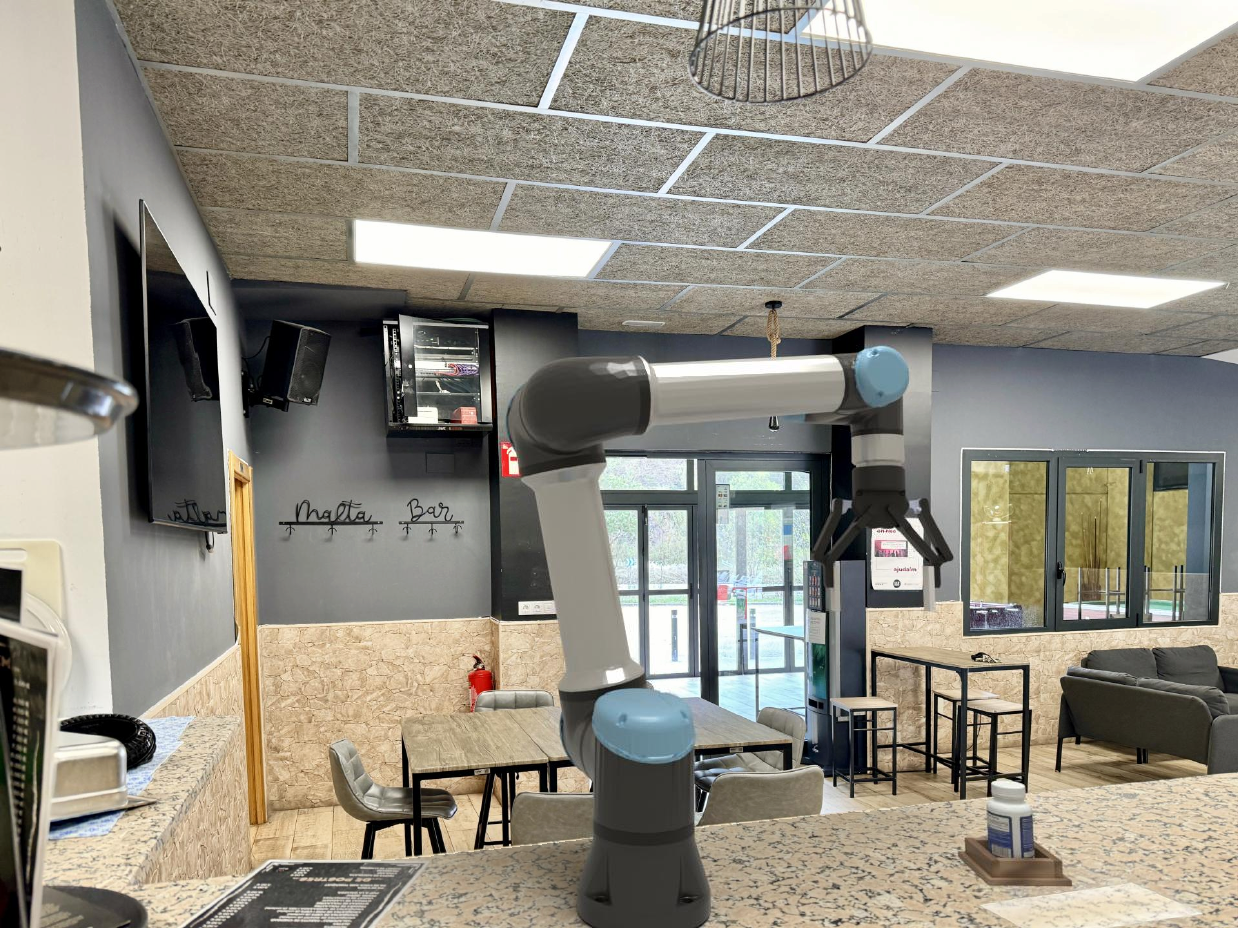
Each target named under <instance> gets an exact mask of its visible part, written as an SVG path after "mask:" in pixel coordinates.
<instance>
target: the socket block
mask: <svg viewBox="0 0 1238 928" xmlns="http://www.w3.org/2000/svg"><path fill="white" fill-rule="evenodd" d="M1034 855H1035V858H996V857H995V856H993V855H992V854H991V853H990V852H989V851H988V837H973V836H972V837H970V836H969V837H968V836H967V837H964V851H963V850H960V851H959V850H958V851H957V856H958V857H959V858H960V859H961V860H962V861H963V862H964V864H966V865H967V866H968V867H969V868H970V869H971V870H972V871H974V873H976V874H977V876H978V877H980V879H982V880H983V881H984V882H985V883H986V884H987V885H988V886H1047V887H1048V886H1049V887H1050V886H1052V887H1053V886H1055V887H1056V886H1057V887H1058V886H1059V887H1065V886H1067V887H1068V886H1069V887H1071V886H1073V881H1072V879H1071V878H1069V877H1068V876H1066V875H1065V874H1064V870H1063V869H1064V868H1063V861H1062V859H1060V858H1058V857H1057V856H1056V855H1054V854H1053V853H1051V852H1050V851H1049V850H1047V849H1046V848H1045V847H1043V846H1042V845H1040V844H1039V843H1038V842H1036V841H1035V840H1034Z"/></svg>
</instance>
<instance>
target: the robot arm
mask: <svg viewBox="0 0 1238 928" xmlns="http://www.w3.org/2000/svg"><path fill="white" fill-rule="evenodd" d="M909 383H910V371H909V367H908V364H907V361H906V359H905V358H904V357H903V355H902V354H901V353H900V352H898V350H896V349H894V348H892V347H889V346H886V345H878V346H874V347H867V348H864V349H863V350H861V351H858V352H852V353H851V352H850V353H835V354H819V355H814V354H813V355H797V356H794V355H793V356H778V357H777V356H776V357H775V356H774V357H757V358H755V357H754V358H740V359H739V358H738V359H737V358H736V359H734V358H733V359H719V360H718V359H717V360H716V359H715V360H698V361H697V360H696V361H695V360H693V361H678V362H677V361H676V362H675V361H673V362H658V363H657V362H655V363H649V362H648V361H647V360H646V359H645V358H643V357H642V356H641V355H627V356H625V355H623V356H580V357H579V356H578V357H577V356H576V357H566V358H560V359H556V360H555V359H554V360H553V361H550V362H547V363H545V364H544V365H542V366H541V367H539V368H538V369H537V370H535V371H534V372H533V373H532V374H531V375H530V377H529V378H528V380H526V381H525V382H524V383H523V384H522V385H521V386H519V387H518V388H517V390H516V391H515V392H514V394H513V395H512V397H511V398H510V400H509V402H508V405H507V410H506V413H505V419H504V420H505V421H504V424H505V433H506V436H507V438H508V442H509V444H510V446H511V448H512V449H513V451H514V452H515V454H516V455H515V456H516V459H517V464H518V465H517V466H518V470H519V471H518V472H519V476H520V481H521V482H522V483H524V485H526V486H527V487H529V488H531V490H533V492H534V495H535V500H536V505H537V507H536V508H537V512H538V517H539V523H540V529H541V534H542V540H543V545H544V552H545V556H546V557H545V558H546V562H547V563H546V564H547V569H548V575H549V580H550V585H551V591H552V596H553V603H554V607H555V612H556V613H555V614H556V618H557V620H556V621H557V625H558V630H559V636H560V641H561V647H562V648H561V649H562V653H563V659H564V664H565V672H564V674H563V676H562V677H561V679H560V680H559V681H558V683H557V690H558V696H559V701H560V703H559V704H560V709H561V713H560V716H559V723H558V728H559V737H560V739H559V740H560V742H561V745H562V747H563V751H564V752H565V755H566V756H567V758H568V759H569V760H570V761H569V762H571V763H572V764H573V766H575V767H576V768H577V770H579V771H580V772H582V773H583V774H584V775H585V776H586V777H587V778H588V779H589V780H590V781H591V782H592V784H593V785H592V790H593V791H592V793H593V794H592V796H593V797H592V798H593V799H592V801H593V802H592V805H593V806H592V808H593V809H592V829H593V831H592V838H591V839H592V840H591V843H590V846H589V848H588V852H587V856H586V860H585V862H584V865H583V868H582V871H581V872H582V873H581V875H580V878H579V882H578V885H577V894H576V895H577V896H576V897H577V898H576V902H577V903H576V904H577V905H576V909H577V914H578V916H579V917H580V918H581V919H582V920H583V921H584V922H585V923H587V924H589V925H591V927H594V928H697V927H699V926H700V925H702V924H704V923H705V922H706V921H707V920H708V919H709V917H710V915H711V912H712V905H711V904H712V902H711V901H712V900H711V899H712V898H711V897H712V896H711V895H712V894H711V893H712V892H711V887H710V883H709V880H708V877H707V874H706V871H705V870H706V869H705V867H704V865H703V861H702V857H701V855H700V851H699V848H698V845H697V841H696V835H695V834H696V833H695V832H696V831H695V827H696V826H695V819H696V818H695V815H696V814H695V803H696V799H695V796H696V795H695V794H696V793H695V790H696V787H695V775H696V774H695V766H696V765H695V761H696V760H695V742H696V738H697V736H696V735H697V734H696V730H695V726H694V725H695V724H694V713H693V710H692V708H691V706H690V705H689V703H688V702H686V700H685V699H684V698H682V697H680V696H678V695H676V694H673V693H671V692H661V690H657V689H653V688H652V689H650V688H649V687H648V683H647V682H648V681H647V678H646V677H647V676H646V672H645V667H644V666H641V664H640V663H638V662H636V660H633V658H632V657H631V654H630V647H629V643H628V642H629V641H628V637H627V632H626V626H625V625H626V624H625V620H624V614H623V609H622V603H621V598H620V593H619V587H618V582H617V575H616V571H615V565H614V560H613V559H614V558H613V554H612V548H611V544H610V537H609V533H608V526H607V521H606V516H605V510H604V505H603V500H602V494H601V488H600V483H599V480H600V477H601V475H602V474H603V472H604V471H605V469H606V468H607V466H608V465H607V464H608V463H607V458H606V452H605V448H604V443H605V442H608V441H611V440H615V439H620V438H623V437H624V438H625V437H631V436H643V435H646V434H647V433H648V432H649V431H650V430H651V428H652V427H654V426H655V427H656V426H666V425H678V424H679V425H680V424H681V425H682V424H692V423H693V424H694V423H703V422H704V423H705V422H706V423H707V422H716V421H717V422H718V421H730V420H744V419H755V418H757V419H758V418H769V417H778V418H779V419H780V420H782V421H784V422H787V423H788V422H789V423H793V424H794V423H796V424H800V425H804V424H811V425H813V424H814V425H815V424H816V425H820V424H821V425H839V426H840V425H842V426H850V439H851V463H852V464H853V465H854V466H856V467H854V468H853V469H852V471H851V473H852V474H851V479H852V480H851V481H852V483H851V484H852V497H851V500H847V499H843V498H841V497H838V498H837V497H836V498H834V499H832V500H831V501H830V512H829V515H828V517H827V519H826V521H825V524H824V526H823V527H822V530H821V532H820V534H819V537H818V538H817V540H816V543H815V545H814V546H813V549H812V551H811V553H810V556H809V559H810V560H811V561H812V562H815V563H818V564H821V566H822V576H823V583H822V584H823V586H824V588H826V589H827V588H828V589H830V611H832V612H836V613H837V612H839V613H840V612H841V582H840V581H841V580H840V579H841V578H840V575H841V573H840V572H841V571H840V565H834V564H835V563H836V561H837V560H838V559H839V558H840V556H842V554H843V553H844V552H845V550H846V549H848V547H849V546H850V545H851V543H853V540H855V538H856V537H857V536H858V535H859V533H860V532H862V530H864V528H866V529H867V530H877V529H882V530H892V529H894V528H895V529H896V530H897V531H898V532H899V533H900V534H901V535H902V536H903V537H904V538H905V539H906V540H907V542H908V543H909V544H910V545H911V547H913V549H915V551H916V552H917V553H918V554H919V555H920V556H921V558H922V559H923V560H925V562H926V563H927V564H928V565H922V566H921V567H922V589H923V590H922V591H923V593H922V594H923V611H924V612H928V613H929V612H931V613H936V590H935V589H940V588H941V586H942V579H941V577H942V576H941V575H942V574H941V566H942V565H943V564H946V563H948V562H952V561H953V560H954V554H953V551H952V550H951V549H950V547H949V545H948V543H947V542H946V539H945V538H944V536H943V534H942V532H941V529H940V528H939V527H938V525H937V522H936V520H935V518H934V517H933V515H932V514H931V511H930V503H929V499H928V498H927V497H926V498H925V497H922V498H918V499H916V500H915V499H913V500H908V498H907V495H906V494H907V492H906V490H907V489H906V487H907V486H906V469H905V468H904V467H903V466H901V465H902V464H904V462H905V461H906V459H905V455H906V454H905V440H904V439H905V436H904V395H905V393H906V391H907V389H908V387H909ZM848 509H850V510H851V512H852V513H853V515H854V516H855V518H854V519H853V521H852V522H851V523H850V524H849V526H848V528H847V529H846V530H845V531H844V533H842V535H841V536H840V538H839V539H838V540H837V541H836V542H835V544H834V545H833V546H832V547H831V549H830V550H829V551H828V552H827V553H826V555H824V554H825V551H826V549H827V548H828V545H829V544H830V542H831V539H832V538H833V535H834V533H835V531H836V528H837V526H838V524H839V522H840V520H841V517H842V515H844V514H846V513H847V511H848ZM909 509H910V510H911V511H912V513H913V514H915V515H916V516H917V519H918V521H919V524H920V525H921V526H922V528H923V530H924V532H925V534H926V537H928V539H929V541H930V544H931V545H932V547H933V549H934V550H935V551H934V550H933V549H932V548H931V547H930V546H929V544H928V543H927V542H926V541H925V540H924V539H923V537H921V536H920V534H919V533H918V532H917V531H916V530H915V528H914V527H913V526H912V524H911V523H910V522H909V520H907V518H906V517H905V515H906V514H907V512H908V510H909Z"/></svg>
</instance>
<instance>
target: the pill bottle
mask: <svg viewBox="0 0 1238 928" xmlns="http://www.w3.org/2000/svg"><path fill="white" fill-rule="evenodd" d="M990 785H991V786H990V787H991V795H992V796H993V797H991V798H989V799H988V800H987V802H986V808H985V809H986V825H987V829H986V830H987V838H988V851H989V852H990V853H991V854H992V855H993V856H995V857H996V858H1035V855H1034V841H1035V839H1034V821H1033V819H1034V817H1033V809H1032V806H1031V804H1029V802H1027V801H1026V800H1024V799H1025V798H1026V796H1027V793H1026V786H1025V784H1023V783H1020V782H1017V781H1011V780H995V781H992V782H991V784H990Z"/></svg>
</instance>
